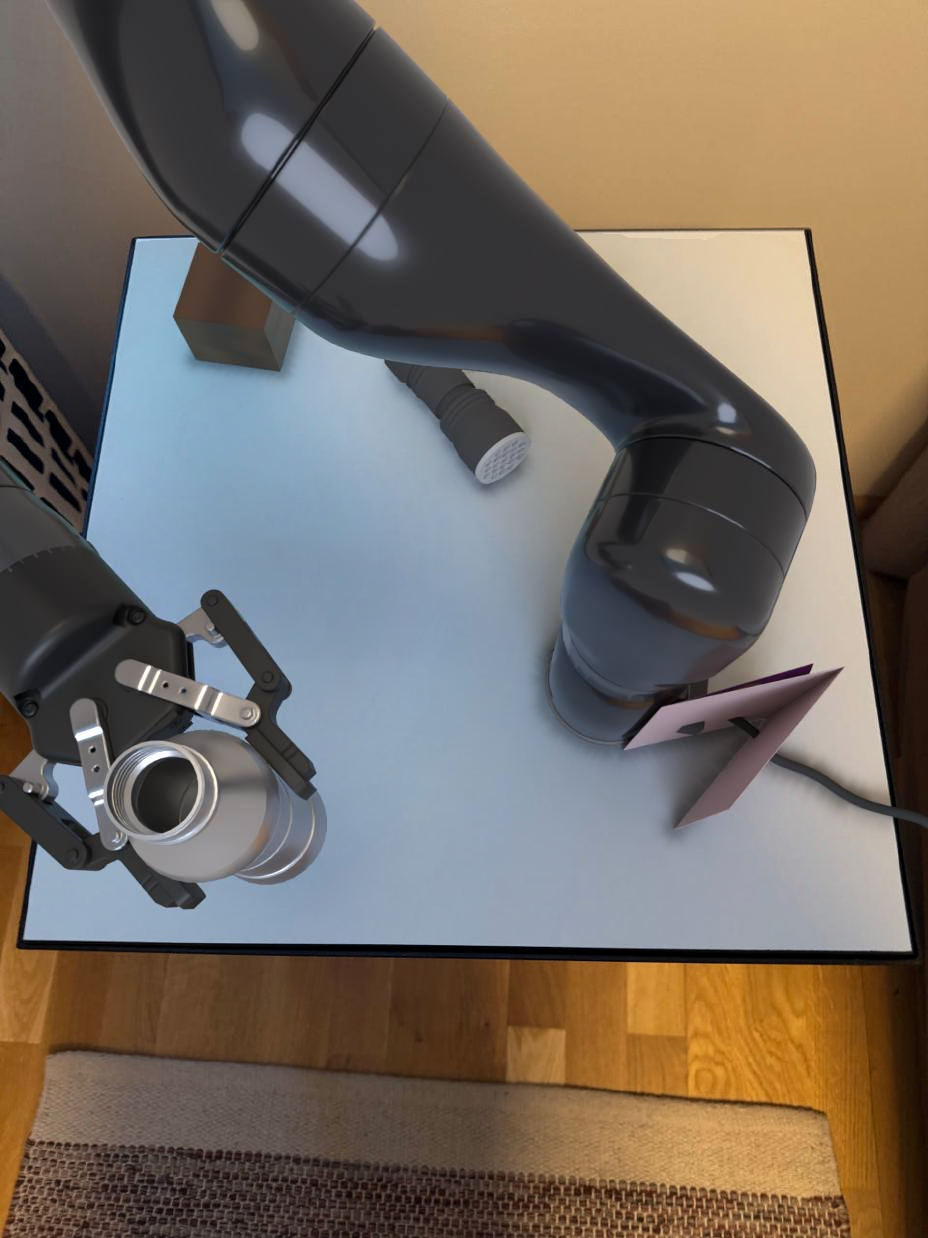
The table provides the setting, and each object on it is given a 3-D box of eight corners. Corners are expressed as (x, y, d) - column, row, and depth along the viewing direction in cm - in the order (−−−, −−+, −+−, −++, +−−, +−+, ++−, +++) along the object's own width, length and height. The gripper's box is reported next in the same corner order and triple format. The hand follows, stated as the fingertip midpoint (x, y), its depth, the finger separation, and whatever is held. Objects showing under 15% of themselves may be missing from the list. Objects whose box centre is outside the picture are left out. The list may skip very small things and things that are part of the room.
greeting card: (762, 707, 65) (840, 652, 50) (795, 802, 62) (886, 773, 48) (619, 739, 64) (657, 693, 50) (647, 836, 62) (694, 817, 48)
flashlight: (378, 370, 75) (370, 331, 70) (427, 340, 76) (423, 299, 71) (479, 493, 71) (478, 461, 66) (529, 459, 72) (532, 425, 67)
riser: (301, 299, 78) (286, 252, 72) (280, 371, 76) (263, 328, 70) (219, 288, 79) (198, 241, 73) (195, 359, 76) (172, 316, 71)
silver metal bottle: (258, 753, 51) (124, 671, 32) (355, 804, 50) (276, 751, 31) (201, 851, 49) (23, 827, 30) (300, 906, 48) (182, 917, 29)
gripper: (-146, 682, 36) (87, 979, 32) (116, 470, 39) (359, 718, 35) (-42, 717, 43) (159, 963, 40) (173, 535, 46) (380, 747, 42)
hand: (252, 846), depth 37 cm, fingers closed on silver metal bottle, 6 cm apart
